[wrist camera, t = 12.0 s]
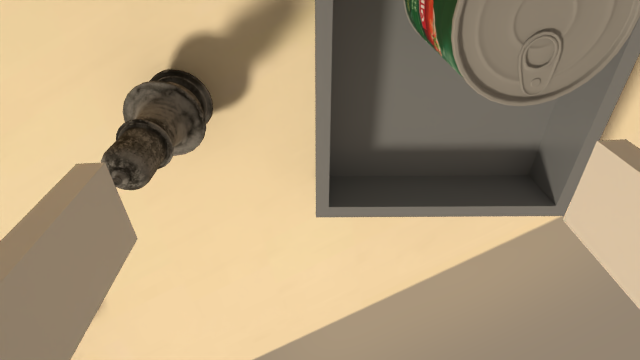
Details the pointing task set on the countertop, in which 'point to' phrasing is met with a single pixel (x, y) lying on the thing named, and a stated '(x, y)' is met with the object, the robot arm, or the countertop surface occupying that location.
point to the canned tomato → (524, 42)
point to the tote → (440, 126)
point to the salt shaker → (158, 127)
